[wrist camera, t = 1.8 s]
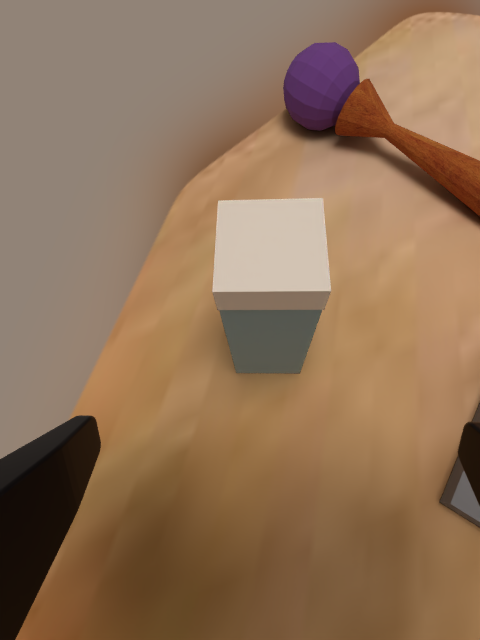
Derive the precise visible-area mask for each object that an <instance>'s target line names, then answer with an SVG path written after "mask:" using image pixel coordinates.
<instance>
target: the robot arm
mask: <svg viewBox="0 0 480 640" xmlns="http://www.w3.org/2000/svg"><path fill="white" fill-rule="evenodd" d="M100 448H101V441H100V436H99V432H98V427H97V422H96V419H95V418H94V417H93V416H76V417H74V418H72V419H70V420H69V421H67V422H65V423H63V424H62V425H60V426H58V427H56V428H55V429H53V430H51V431H49V432H47V433H46V434H44V435H42V436H40V437H39V438H37V439H35V440H33V441H32V442H30V443H28V444H26V445H25V446H23V447H21V448H19V449H17V450H16V451H14V452H12V453H10V454H9V455H7V456H5V457H4V458H2V459H0V640H15V639H16V637H17V635H18V633H19V631H20V629H21V627H22V625H23V623H24V621H25V618H26V616H27V614H28V612H29V610H30V608H31V606H32V604H33V602H34V600H35V598H36V596H37V594H38V592H39V590H40V588H41V586H42V584H43V581H44V579H45V577H46V575H47V573H48V571H49V569H50V567H51V565H52V563H53V561H54V559H55V557H56V555H57V553H58V551H59V549H60V546H61V544H62V542H63V540H64V538H65V536H66V534H67V532H68V530H69V528H70V526H71V524H72V522H73V520H74V518H75V515H76V513H77V511H78V509H79V506H80V504H81V501H82V499H83V496H84V493H85V490H86V488H87V485H88V482H89V479H90V477H91V474H92V471H93V469H94V466H95V463H96V460H97V458H98V455H99V452H100ZM458 456H459V460H460V462H461V465H462V467H463V469H464V471H465V474H466V476H467V478H468V481H469V483H470V485H471V488H472V490H473V492H474V495H475V497H476V499H477V501H478V504H479V506H480V422H468V423H466V424H465V426H464V428H463V432H462V436H461V440H460V444H459V449H458Z"/></svg>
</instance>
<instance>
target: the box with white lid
mask: <svg viewBox="0 0 480 640" xmlns="http://www.w3.org/2000/svg"><path fill="white" fill-rule="evenodd" d="M330 292H331V285H330V274H329V262H328V251H327V240H326V228H325V217H324V206H323V198H306V199H265V200H224V201H218V213H217V229H216V244H215V260H214V276H213V296H214V299H215V303H216V306H217V310H219V311H220V315H221V318H222V322H223V326H224V329H225V333H226V337H227V340H228V344H229V348H230V351H231V355H232V359H233V362H234V366H235V370H236V373H300V371H301V368H302V366H303V363H304V360H305V357H306V354H307V352H308V349H309V346H310V343H311V340H312V337H313V335H314V332H315V329H316V326H317V323H318V321H319V318H320V315H321V312H322V310H324V309H325V306H326V303H327V301H328V298H329V295H330Z"/></svg>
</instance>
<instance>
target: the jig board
mask: <svg viewBox="0 0 480 640" xmlns="http://www.w3.org/2000/svg"><path fill="white" fill-rule="evenodd" d="M472 422H480V404H479V406H478V409H477V411H476V413H475V416H474V418H473V421H472ZM440 503H442V504H444V505H445V506H447V507H448V508H450V509H451V510H453V511H455V512H456V513H458V514H459V515H461V516H463V517H464V518H466V519H467V520H469V521H470V522H472V523H474V524H475V525H477V526H478V527H480V506H479V504H478V501H477V499H476V497H475V495H474V492H473V490H472V488H471V485H470V483H469V481H468V478H467V476H466V474H465V471H464V469H463V467H462V465H461V462H460V460H459V456H458V458H457V460H456V463H455V465H454V468H453V470H452V473H451V475H450V478H449V480H448V483H447V485H446V488H445V490H444V493H443V495H442V497H441V500H440Z"/></svg>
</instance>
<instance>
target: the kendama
mask: <svg viewBox="0 0 480 640" xmlns="http://www.w3.org/2000/svg"><path fill="white" fill-rule="evenodd" d="M283 89H284V100H285V105H286V108H287V110H288V112H289V114H290V115H291V117H292V119H293V120H295V121H296V122H297V123H299V124H300V125H302V126H304V127H305V128H307V129H309V130H320V131H321V130H324V129H326V128H329V127H332V126H334V125H336V126H335V133H336V134H337V135H343V136H361V137H378V138H385V139H387V140H388V141H389V142H390V143H392V144H393V145H394V146H395V147H396V148H398V149H399V150H400V151H401V152H402V153H404V154H405V155H406V156H407V157H408V158H410V159H411V160H412V161H413V162H415V163H416V164H417V165H418V166H419V167H421V168H422V169H423V170H424V171H425V172H427V173H428V174H429V175H430V176H431V177H433V178H434V179H435V180H436V181H437V182H439V183H440V184H441V185H442V186H444V187H445V188H446V189H447V190H448V191H450V192H451V193H452V194H453V195H454V196H456V197H457V198H458V199H459V200H460V201H462V202H463V203H464V204H465V205H466V206H468V207H469V208H470V209H471V210H473V211H474V212H475V213H476V214H477V215H479V216H480V161H479V160H477V159H474V158H472V157H470V156H468V155H465V154H463V153H461V152H458V151H456V150H454V149H451V148H449V147H447V146H445V145H442V144H440V143H438V142H435V141H433V140H431V139H428V138H426V137H424V136H422V135H419V134H417V133H415V132H412V131H410V130H408V129H405V128H403V127H401V126H399V125H396V124H394V123H393V121H392V119H391V117H390V115H389V114H388V112H387V110H386V108H385V106H384V105H383V103H382V101H381V99H380V97H379V96H378V94H377V92H376V90H375V88H374V86H373V85H372V83H371V81H370V79H365V80H363V81H362V82H361V83H360V81H359V70H358V66H357V65H356V63H355V61H354V59H353V58H352V56H351V54H350V53H349V51H348V50H347V49H346V48H344V47H342V46H340V45H339V44H337V43H335V42H334V43H314V44H312V45H311V46H310V47H308V48H306V49H305V50H303V51H302V52H301V53H299V54H298V55H297V56H296V57H295V59H294V60H293V61H292V63H291V65H290V67H289V69H288V70H287V73H286V77H285V80H284V87H283Z"/></svg>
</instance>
